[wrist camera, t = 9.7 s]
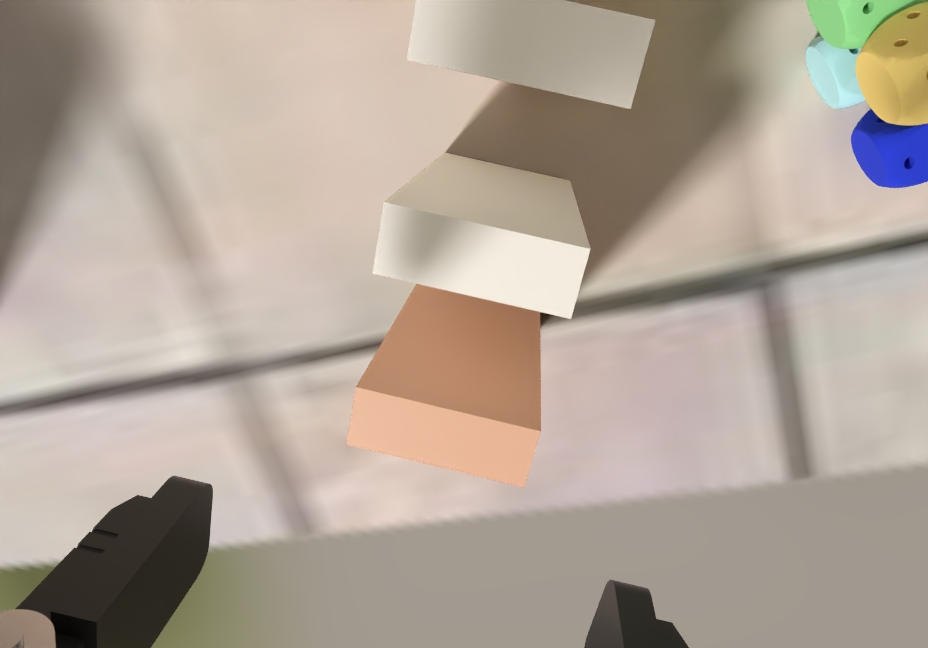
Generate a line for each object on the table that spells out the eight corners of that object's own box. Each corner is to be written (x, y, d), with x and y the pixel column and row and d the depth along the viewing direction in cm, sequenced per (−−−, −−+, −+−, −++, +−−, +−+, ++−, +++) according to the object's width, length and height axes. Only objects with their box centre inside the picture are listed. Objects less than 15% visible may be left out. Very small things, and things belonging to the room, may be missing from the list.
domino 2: (445, 152, 26) (383, 201, 16) (570, 180, 26) (590, 248, 16) (436, 197, 27) (372, 273, 16) (558, 225, 26) (570, 319, 16)
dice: (925, 149, 24) (1053, 173, 18) (852, 184, 25) (951, 218, 19) (848, -67, 22) (962, -119, 16) (771, -22, 23) (853, -56, 17)
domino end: (423, 272, 28) (356, 387, 18) (540, 299, 28) (540, 431, 17) (415, 311, 28) (346, 444, 18) (529, 338, 28) (524, 487, 18)
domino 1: (471, 14, 24) (420, -31, 14) (605, 44, 24) (655, 20, 14) (461, 66, 25) (406, 59, 15) (592, 95, 25) (630, 108, 14)
